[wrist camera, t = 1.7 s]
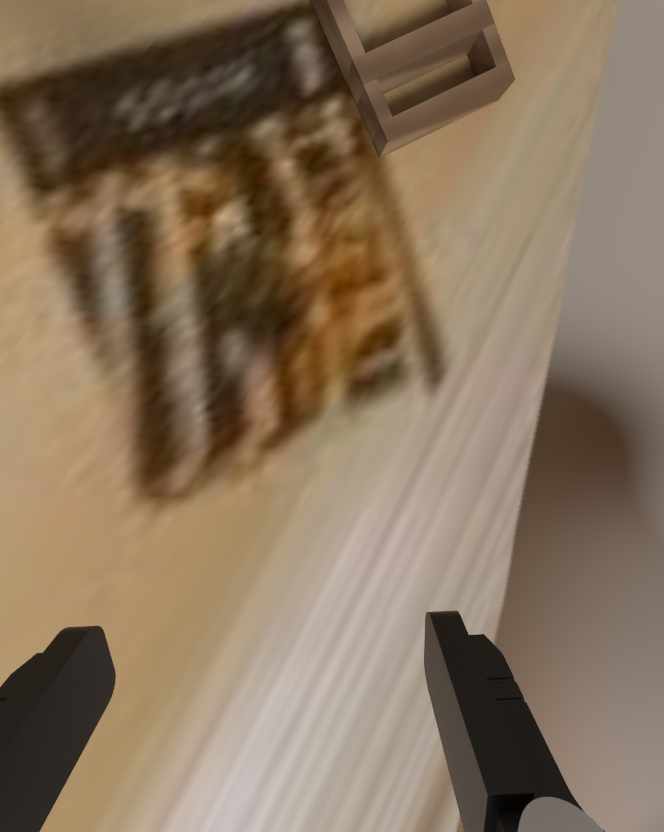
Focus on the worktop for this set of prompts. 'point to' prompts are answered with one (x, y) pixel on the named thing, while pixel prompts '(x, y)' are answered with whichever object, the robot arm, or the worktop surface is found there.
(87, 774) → the worktop surface
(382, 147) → the slot holder
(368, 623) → the worktop surface
